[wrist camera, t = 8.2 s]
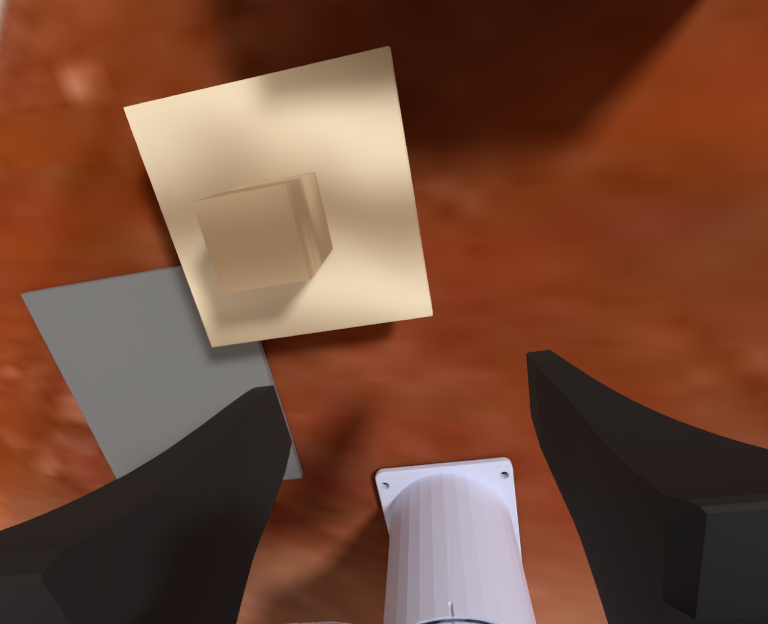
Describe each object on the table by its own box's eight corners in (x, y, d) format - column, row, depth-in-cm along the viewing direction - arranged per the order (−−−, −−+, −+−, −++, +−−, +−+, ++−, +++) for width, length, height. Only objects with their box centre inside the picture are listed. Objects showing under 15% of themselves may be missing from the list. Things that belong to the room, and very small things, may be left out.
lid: (432, 308, 19) (435, 361, 15) (219, 339, 21) (164, 396, 16) (390, 49, 16) (378, 17, 11) (136, 108, 17) (36, 100, 13)
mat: (303, 473, 27) (301, 478, 27) (128, 490, 29) (125, 495, 29) (233, 256, 22) (230, 258, 22) (26, 292, 24) (20, 294, 24)
